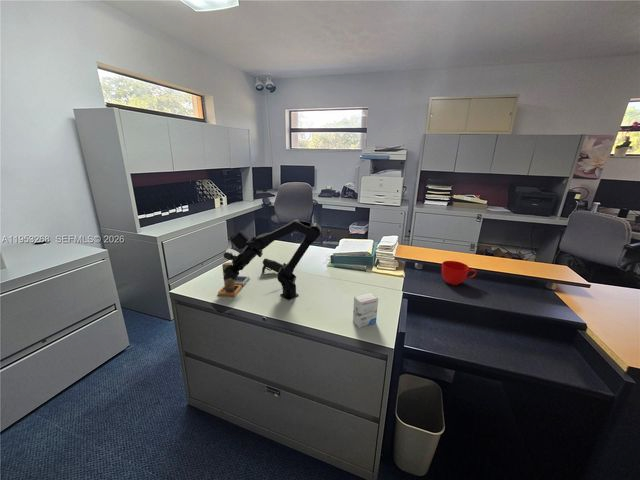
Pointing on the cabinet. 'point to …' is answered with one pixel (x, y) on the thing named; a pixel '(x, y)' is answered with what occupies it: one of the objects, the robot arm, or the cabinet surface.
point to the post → (228, 282)
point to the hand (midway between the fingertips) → (226, 276)
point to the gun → (271, 265)
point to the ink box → (365, 309)
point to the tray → (239, 284)
